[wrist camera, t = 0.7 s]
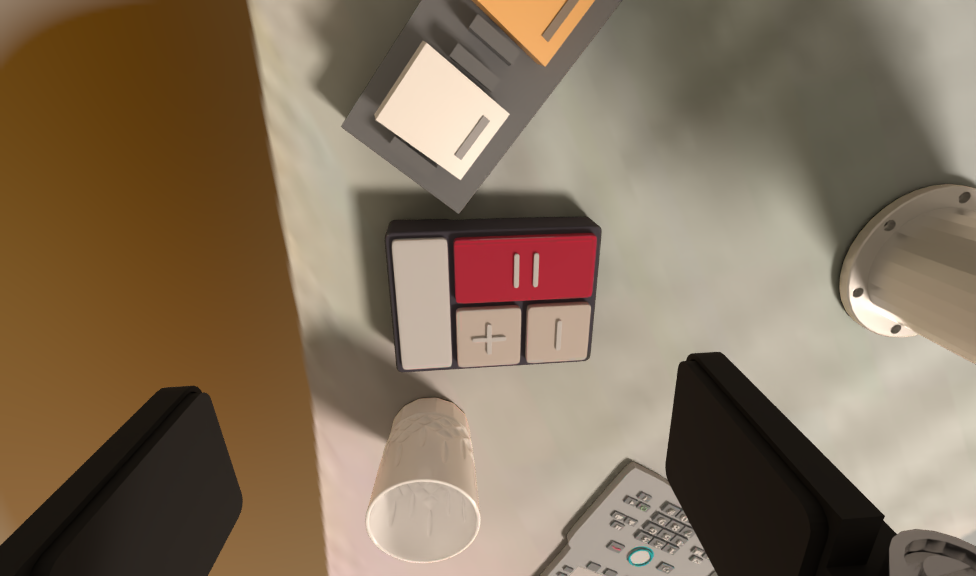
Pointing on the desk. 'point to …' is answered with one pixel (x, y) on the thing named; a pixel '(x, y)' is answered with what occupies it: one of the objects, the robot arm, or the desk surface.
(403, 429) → the white cup
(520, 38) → the rocker middle
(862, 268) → the robot arm
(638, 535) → the office telephone
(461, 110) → the rocker
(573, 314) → the calculator
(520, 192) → the desk surface
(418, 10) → the rocker switch panel
